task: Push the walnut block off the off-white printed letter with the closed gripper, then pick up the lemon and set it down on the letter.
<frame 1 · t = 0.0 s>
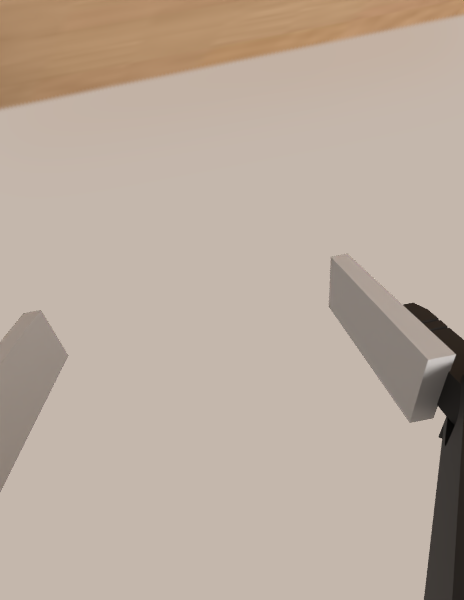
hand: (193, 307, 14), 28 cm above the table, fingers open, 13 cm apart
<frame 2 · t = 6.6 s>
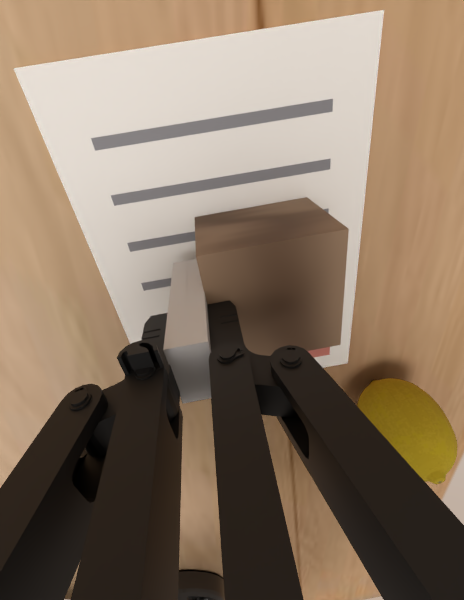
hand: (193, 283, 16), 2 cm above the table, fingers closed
lemon: (372, 380, 25), on the table
walnut block: (256, 258, 17), resting on letter, touching gripper
letter: (233, 261, 18), on the table
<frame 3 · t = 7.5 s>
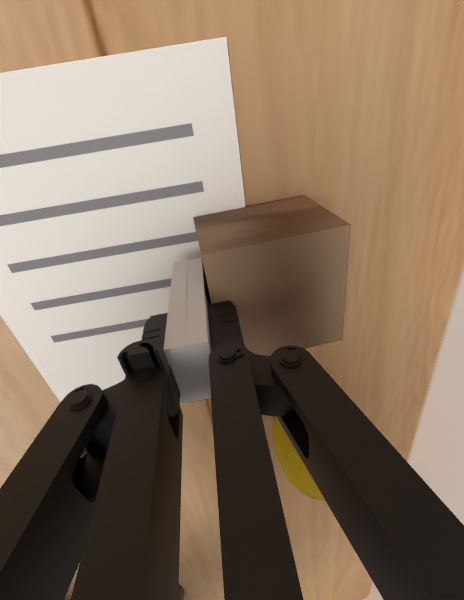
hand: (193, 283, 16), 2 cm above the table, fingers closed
lemon: (296, 394, 25), on the table
walnut block: (254, 257, 18), on the table
letter: (124, 281, 18), on the table
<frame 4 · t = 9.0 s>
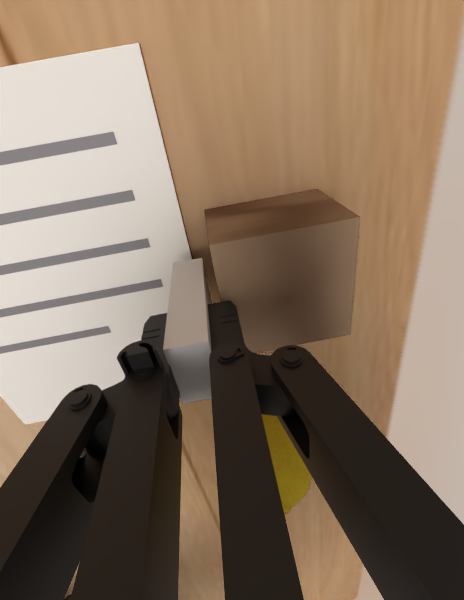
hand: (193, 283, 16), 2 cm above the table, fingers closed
lemon: (258, 400, 25), on the table
walnut block: (265, 250, 18), on the table
letter: (65, 291, 17), on the table
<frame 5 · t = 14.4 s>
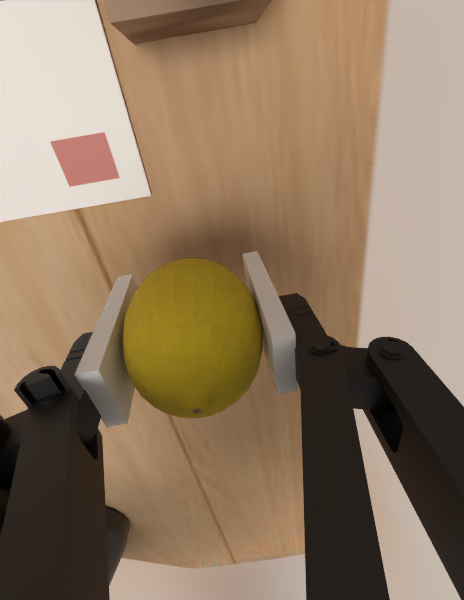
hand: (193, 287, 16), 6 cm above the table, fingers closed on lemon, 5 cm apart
lemon: (192, 281, 16), point 6 cm above the table, touching gripper
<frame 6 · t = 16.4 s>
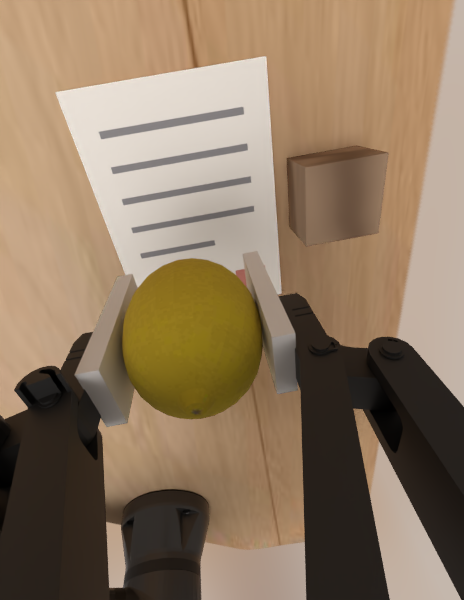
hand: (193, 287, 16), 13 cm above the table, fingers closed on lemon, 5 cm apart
lemon: (192, 281, 16), point 13 cm above the table, touching gripper
walnut block: (320, 188, 27), on the table
letter: (192, 213, 27), on the table
when the fingers open (1 cm above the table, at t = 18.7 s): lemon stays where it is, resting on letter.
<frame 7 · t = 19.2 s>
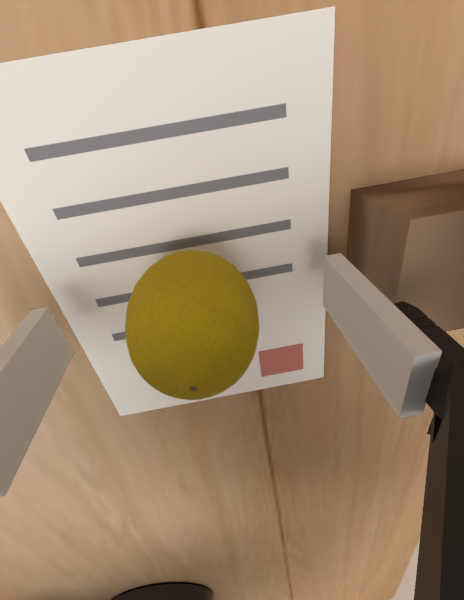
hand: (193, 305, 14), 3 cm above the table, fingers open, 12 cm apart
lemon: (194, 275, 17), resting on letter
walnut block: (398, 234, 17), on the table
letter: (193, 275, 17), on the table
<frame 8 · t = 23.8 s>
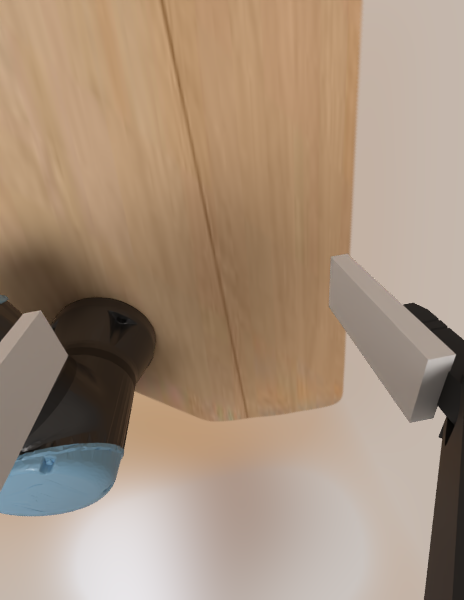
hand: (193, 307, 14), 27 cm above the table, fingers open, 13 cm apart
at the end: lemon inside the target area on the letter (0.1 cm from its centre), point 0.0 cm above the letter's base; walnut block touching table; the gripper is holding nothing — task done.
